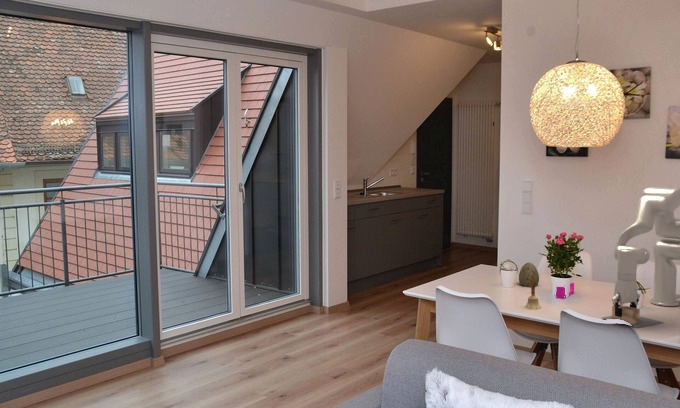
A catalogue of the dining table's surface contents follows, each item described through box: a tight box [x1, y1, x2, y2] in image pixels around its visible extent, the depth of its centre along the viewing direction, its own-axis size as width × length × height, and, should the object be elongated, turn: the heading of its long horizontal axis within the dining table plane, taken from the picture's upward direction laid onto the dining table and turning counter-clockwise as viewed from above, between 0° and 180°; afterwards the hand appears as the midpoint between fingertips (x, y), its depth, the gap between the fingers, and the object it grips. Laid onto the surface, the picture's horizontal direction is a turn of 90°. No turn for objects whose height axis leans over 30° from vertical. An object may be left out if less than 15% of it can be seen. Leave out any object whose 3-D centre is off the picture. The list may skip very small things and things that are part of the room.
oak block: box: [611, 304, 641, 324], centre depth 271 cm, size 5×10×6 cm, turn 28°
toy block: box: [555, 282, 575, 300], centre depth 318 cm, size 15×6×8 cm, turn 140°
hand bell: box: [524, 276, 543, 310], centre depth 297 cm, size 8×8×16 cm
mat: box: [602, 315, 664, 329], centre depth 273 cm, size 18×18×1 cm
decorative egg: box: [518, 262, 540, 288], centre depth 340 cm, size 11×11×15 cm
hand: (625, 315), depth 271 cm, fingers open, 9 cm apart
